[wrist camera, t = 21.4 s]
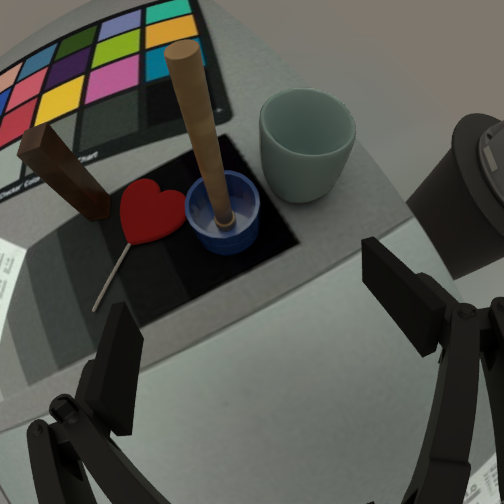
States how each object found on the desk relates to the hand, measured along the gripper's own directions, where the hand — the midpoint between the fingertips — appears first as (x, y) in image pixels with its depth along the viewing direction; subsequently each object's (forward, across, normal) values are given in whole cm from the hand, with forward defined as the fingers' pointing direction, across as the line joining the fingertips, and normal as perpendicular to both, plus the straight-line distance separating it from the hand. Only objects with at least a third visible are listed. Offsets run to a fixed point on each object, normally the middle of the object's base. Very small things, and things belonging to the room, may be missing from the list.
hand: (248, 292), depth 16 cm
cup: (+18, +8, 0) cm, 19 cm away
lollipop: (+16, -11, -2) cm, 19 cm away
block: (+20, -14, +2) cm, 24 cm away
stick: (+15, 0, -2) cm, 15 cm away
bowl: (+16, 0, -2) cm, 16 cm away
